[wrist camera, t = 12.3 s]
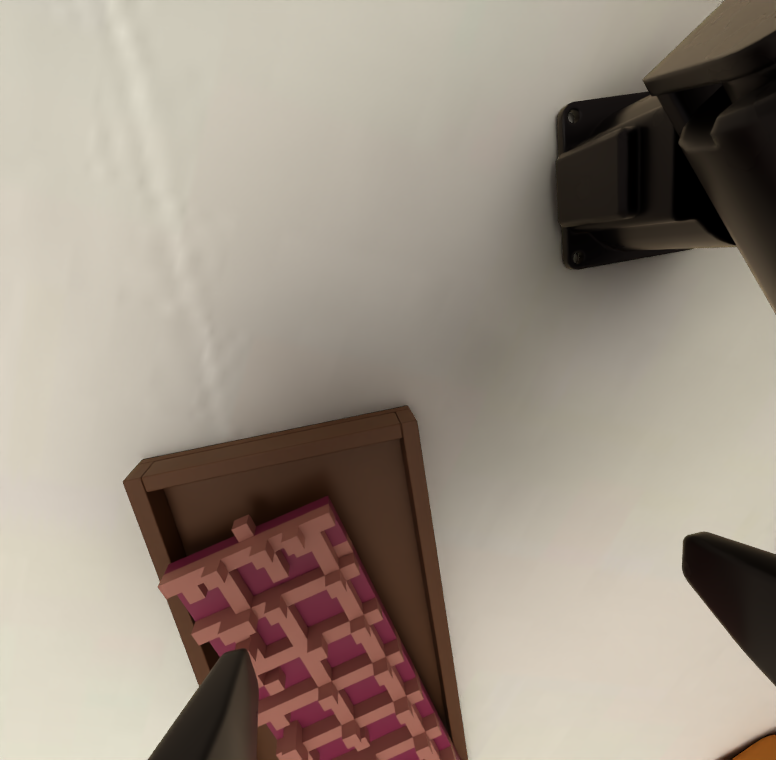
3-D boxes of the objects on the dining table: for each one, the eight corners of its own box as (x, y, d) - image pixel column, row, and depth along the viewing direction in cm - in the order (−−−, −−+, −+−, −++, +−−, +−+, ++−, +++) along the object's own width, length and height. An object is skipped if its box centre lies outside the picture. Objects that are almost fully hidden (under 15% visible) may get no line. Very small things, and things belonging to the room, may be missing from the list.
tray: (407, 405, 20) (417, 419, 18) (463, 764, 27) (474, 803, 25) (141, 459, 19) (121, 481, 17) (270, 821, 26) (266, 866, 24)
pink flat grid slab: (321, 482, 18) (322, 508, 16) (462, 763, 24) (474, 805, 22) (160, 552, 18) (142, 586, 16) (341, 819, 24) (343, 867, 22)
